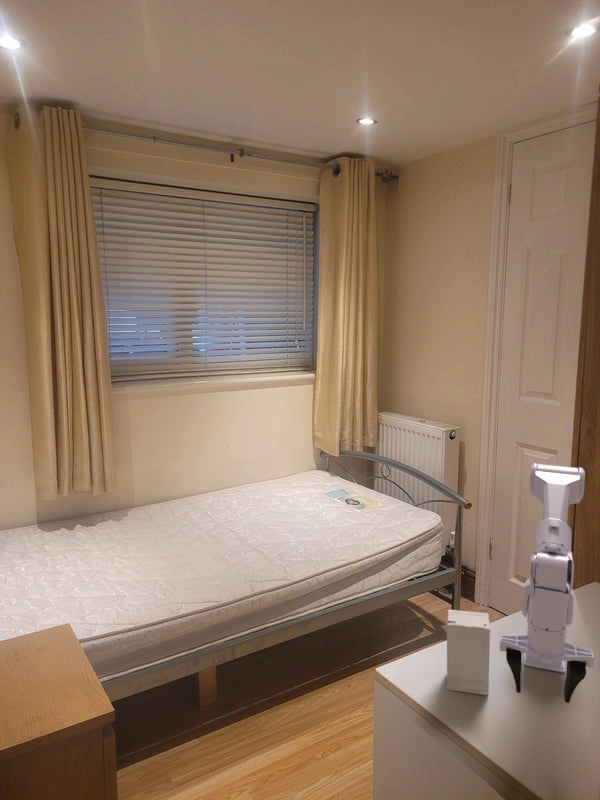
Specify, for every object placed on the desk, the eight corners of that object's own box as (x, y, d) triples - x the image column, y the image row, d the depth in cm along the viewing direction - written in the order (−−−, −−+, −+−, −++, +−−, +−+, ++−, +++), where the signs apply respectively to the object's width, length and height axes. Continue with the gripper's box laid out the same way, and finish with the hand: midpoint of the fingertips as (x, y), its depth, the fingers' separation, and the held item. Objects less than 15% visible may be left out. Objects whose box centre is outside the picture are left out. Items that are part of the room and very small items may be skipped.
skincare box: (487, 678, 119) (491, 612, 116) (488, 698, 113) (492, 629, 110) (445, 671, 121) (448, 606, 118) (444, 690, 116) (447, 622, 113)
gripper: (501, 627, 96) (497, 699, 98) (599, 643, 91) (591, 719, 94) (501, 605, 102) (498, 674, 105) (593, 619, 97) (586, 691, 100)
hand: (542, 693), depth 100 cm, fingers open, 7 cm apart
